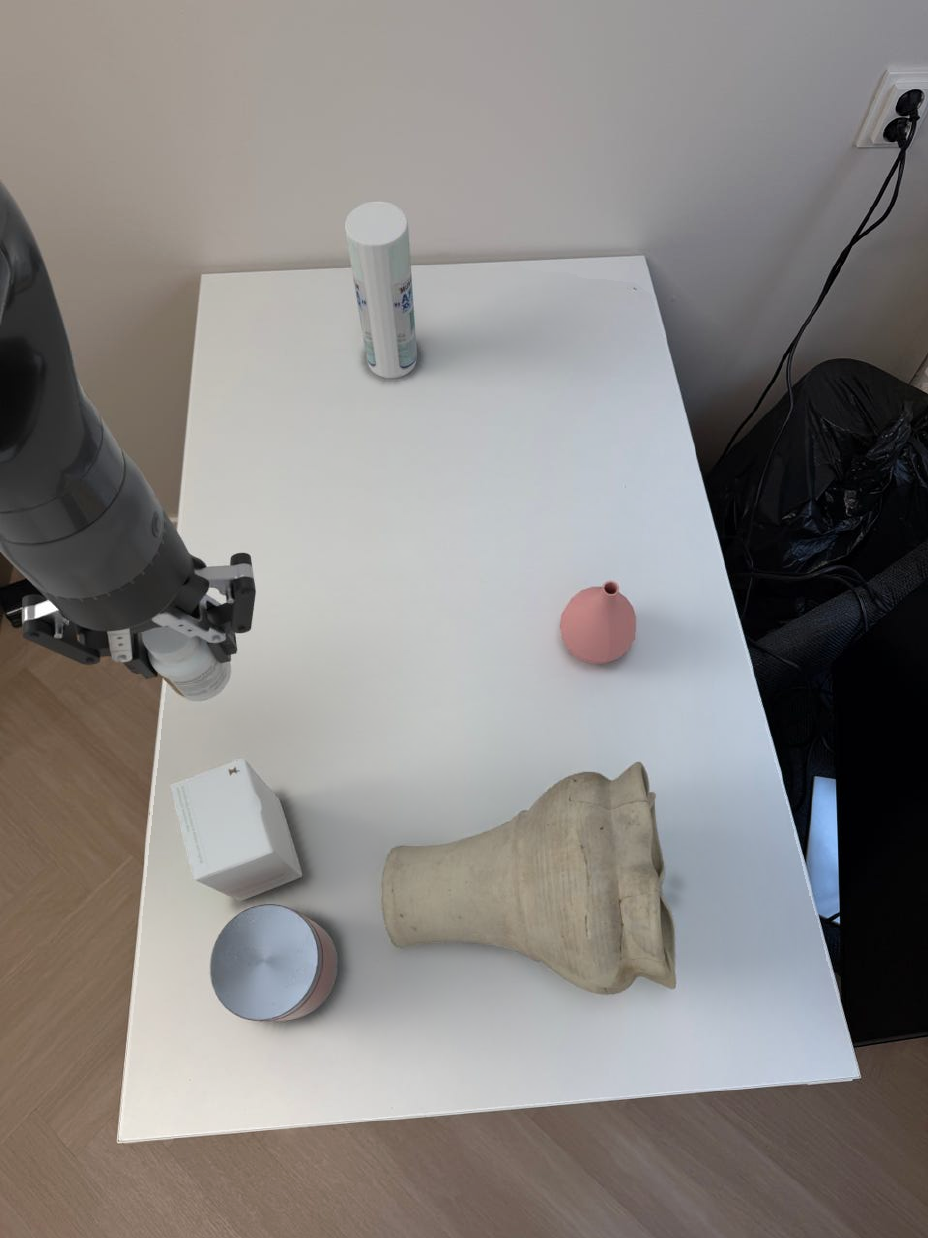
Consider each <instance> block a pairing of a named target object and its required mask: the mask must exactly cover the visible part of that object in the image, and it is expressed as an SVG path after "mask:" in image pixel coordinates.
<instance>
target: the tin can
mask: <svg viewBox="0 0 928 1238" xmlns="http://www.w3.org/2000/svg"><path fill="white" fill-rule="evenodd" d="M338 972H339V956H338V952H337V948H336V946H335V943H334V941H333V939H332V937H331V936H330V934H329V933H328V932H327V931H326V929H324V928H323V927H322V926H321V925H320V924H318V923H317V922H316V921H314V920H312V919H311V918H309V917H307V916H305V915H304V914H302V913H300V912H299V911H296V910H294V909H292V908H290V907H288V906H285V905H281V904H275V903H266V904H265V903H263V904H257V905H254V906H252V907H249V908H247V909H244V910H243V911H241V912H239V913H238V914H236V915H235V916H233V918H231V919H230V920H229V921H228V922H227V923H226V925H225V926H224V927H223V928H222V930H221V931H220V933H219V934H218V936H217V938H216V940H215V941H214V945H213V947H212V950H211V955H210V961H209V978H210V982H211V986H212V989H213V991H214V993H215V996H216V997H217V999H218V1001H219V1002H220V1003H221V1005H222V1006H223V1007H224V1008H225V1009H226V1010H228V1011H229V1012H230V1013H231V1014H233V1015H235V1016H236V1017H239V1018H240V1019H244V1020H247V1021H251V1022H252V1021H253V1022H281V1021H291V1020H296V1019H300V1018H304V1017H306V1016H308V1015H309V1014H311V1013H313V1012H314V1011H316V1010H317V1009H319V1008H320V1007H321V1005H322V1004H323V1003H324V1002H325V1001H326V1000H327V999H328V997H329V996H330V994H331V992H332V991H333V988H334V986H335V984H336V981H337V978H338V977H337V976H338Z"/></svg>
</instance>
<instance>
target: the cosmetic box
mask: <svg viewBox="0 0 928 1238" xmlns="http://www.w3.org/2000/svg"><path fill="white" fill-rule="evenodd" d="M169 787H170V791H171V792H170V793H171V796H172V799H173V803H174V808H175V812H176V815H177V820H178V823H179V828H180V832H181V837H182V840H183V844H184V849H185V852H186V856H187V860H188V863H189V866H190V871H191V874H192V877H193V880H194V881H196V882H198V883H201V884H202V885H205V886H206V887H209V888H211V889H213V890H215V891H217V892H220V894H221V893H222V894H224V895H226V896H227V897H229V898H231V899H234V900H236V901H238V902H242V901H245V900H247V899H251V898H252V897H256V896H257V895H260V894H263V893H265V892H268V891H270V890H273V889H275V888H279V887H280V886H283V885H285V884H287V883H290V882H292V881H296V880H297V879H300V878H302V877H303V872H302V868H301V863H300V860H299V857H298V854H297V850H296V847H295V844H294V841H293V838H292V834H291V831H290V827H289V825H288V821H287V818H286V815H285V812H284V808H283V805H282V803H281V799H279V797H278V796H277V795H276V794H275V793H274V792H273V791H272V789H271V788H270V787H269V786H268V785H267V784H266V782H264V780H263V779H262V777H261V776H260V775H259V774H258V773H257V772H256V771H255V769H254V768H253V767H252V765H250V763H249V762H248V761H247V759H246V758H245V757H244V756H242V757H240V758H237V759H233V760H232V761H229V762H227V763H224V764H221V765H219V766H216V767H214V768H212V769H209V770H206V771H203V772H200V773H198V774H196V775H193V776H190V777H188V778H185V779H183V780H180V781H177V782H175V783H171V784H170V785H169Z"/></svg>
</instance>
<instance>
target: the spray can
mask: <svg viewBox="0 0 928 1238" xmlns="http://www.w3.org/2000/svg"><path fill="white" fill-rule="evenodd" d="M344 222H345V223H344V230H345V237H346V243H347V248H348V255H349V261H350V266H351V272H352V279H353V284H354V291H355V297H356V303H357V309H358V315H359V322H360V327H361V333H362V338H363V339H362V340H363V345H364V351H365V355H366V356H365V357H366V362H367V365H368V367H369V369H370V370H371V371H372V372H373V373H374V374H375V375H376V376H379V377H381V378H383V379H398V378H402V377H403V376H406V375H408V374H410V372H412V371H413V369H414V368H415V366H416V365H417V360H418V350H417V348H418V347H417V335H416V321H415V320H416V319H415V306H414V305H415V304H414V292H413V291H414V289H413V278H412V277H413V276H412V262H411V248H410V247H411V245H410V234H409V233H410V231H409V221H408V217H407V215H406V213H405V212H404V211H403V209H402V208H400V207H398V206H397V205H396V204H394V203H390V202H387V201H381V200H380V201H369V202H364V203H361V204H360V205H358V206H356V207H355V208H353V209H352V210H351V211H350V212H349V214H348V215H347V217H346V219H345V221H344Z"/></svg>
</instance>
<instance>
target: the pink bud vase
mask: <svg viewBox="0 0 928 1238" xmlns="http://www.w3.org/2000/svg"><path fill="white" fill-rule="evenodd" d="M559 631H560V634H561V638H562V641H563V643H564V645H565V646H566V648H567V649H568V651H569V652H570V653H571V655H572V656H574V657H575V658H576V659H578V660H579V661H580V662H584V663H586V664H590V665H604V664H606V663H609V662H613V661H614V660H617V659H619V658H621V657H622V656H623V655H625V654H626V653H627V652H628V651H629V650H630V649H631V646H632V645H633V643H634V641H635V639H636V631H637V615H636V613H635V609H634V606H633V604H632V603H631V601H629V599H628V598H627V596H625V595H624V594H622V593H621V592H620V586H619V584H618V583H617V582H616V581H614V580H608V581H605V582H604V583H603V585H602V586H590V587H588V588H584V589H582V590H580V591H579V592H577V593H576V594H575V595H574V596H573V597H571V599H570V600H569V601H568V602H567V604H566V606H565V608H564V609H563V611H562V613H561V615H560V619H559Z"/></svg>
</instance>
